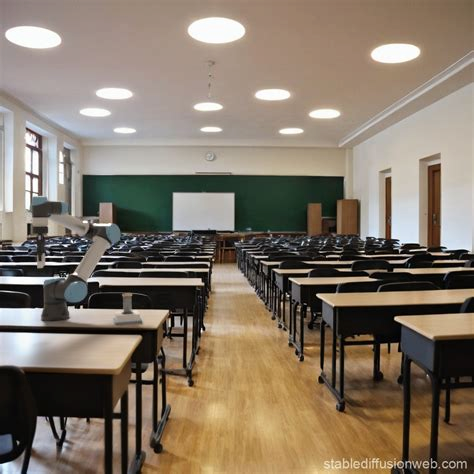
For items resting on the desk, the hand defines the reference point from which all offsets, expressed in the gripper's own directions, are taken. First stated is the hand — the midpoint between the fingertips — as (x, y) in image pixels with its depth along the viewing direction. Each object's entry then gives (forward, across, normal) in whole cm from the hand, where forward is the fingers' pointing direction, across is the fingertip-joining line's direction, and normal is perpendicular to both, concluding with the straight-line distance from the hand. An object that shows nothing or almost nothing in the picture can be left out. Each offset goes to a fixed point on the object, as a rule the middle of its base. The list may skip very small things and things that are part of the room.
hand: (41, 266), depth 229 cm
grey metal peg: (+31, +3, +43) cm, 53 cm away
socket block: (+32, +3, +43) cm, 54 cm away
